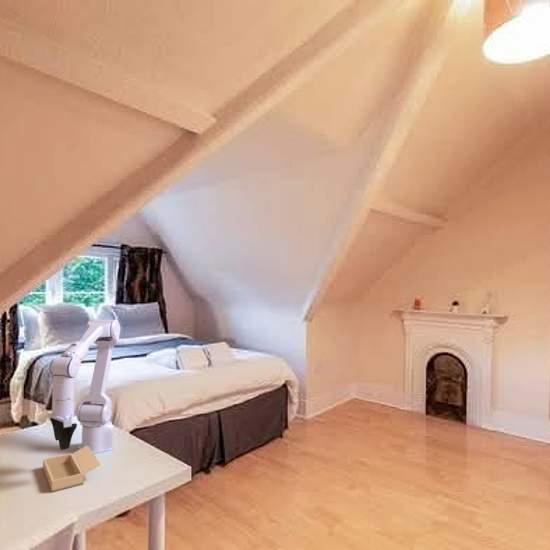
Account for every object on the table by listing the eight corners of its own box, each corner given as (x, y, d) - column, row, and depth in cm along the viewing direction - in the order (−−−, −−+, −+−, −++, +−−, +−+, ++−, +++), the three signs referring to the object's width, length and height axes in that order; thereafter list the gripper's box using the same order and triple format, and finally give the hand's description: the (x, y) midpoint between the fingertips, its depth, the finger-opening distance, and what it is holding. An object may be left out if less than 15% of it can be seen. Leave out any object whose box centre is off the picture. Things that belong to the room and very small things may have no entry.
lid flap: (73, 453, 131) (73, 454, 131) (84, 472, 119) (84, 474, 119) (87, 445, 134) (88, 446, 134) (99, 463, 122) (100, 465, 122)
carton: (71, 462, 132) (72, 453, 132) (83, 484, 119) (83, 473, 119) (42, 469, 127) (43, 459, 127) (51, 492, 114) (52, 481, 114)
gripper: (43, 393, 126) (42, 438, 126) (52, 406, 115) (51, 456, 115) (69, 390, 131) (68, 433, 131) (80, 402, 119) (78, 450, 119)
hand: (62, 444), depth 123 cm, fingers open, 7 cm apart
